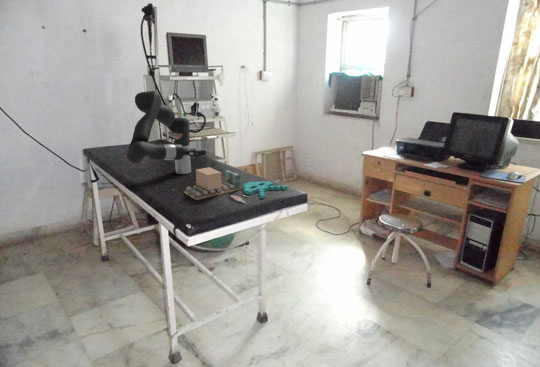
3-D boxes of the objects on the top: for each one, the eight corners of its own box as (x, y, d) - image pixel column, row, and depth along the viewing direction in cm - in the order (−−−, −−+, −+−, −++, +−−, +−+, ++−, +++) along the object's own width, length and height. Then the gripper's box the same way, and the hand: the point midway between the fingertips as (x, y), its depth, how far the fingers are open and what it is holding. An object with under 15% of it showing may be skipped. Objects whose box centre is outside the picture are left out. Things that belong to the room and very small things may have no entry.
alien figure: (286, 189, 199) (258, 182, 211) (286, 186, 199) (258, 178, 211) (262, 199, 185) (234, 191, 197) (262, 195, 184) (234, 187, 196)
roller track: (184, 193, 191) (183, 178, 189) (228, 183, 207) (228, 169, 205) (196, 200, 182) (195, 184, 179) (241, 189, 198) (241, 175, 195)
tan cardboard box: (196, 184, 194) (195, 169, 192) (209, 181, 199) (209, 167, 196) (208, 190, 185) (207, 175, 183) (221, 187, 190) (221, 172, 187)
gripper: (179, 145, 166) (209, 145, 177) (163, 142, 176) (192, 142, 187) (179, 162, 167) (208, 161, 179) (163, 158, 177) (192, 157, 188)
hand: (200, 151), depth 183 cm, fingers open, 8 cm apart
